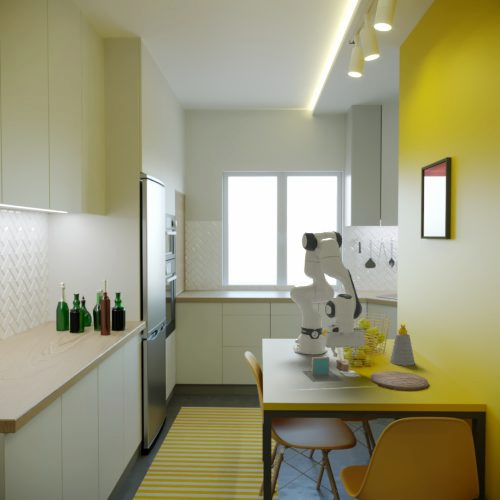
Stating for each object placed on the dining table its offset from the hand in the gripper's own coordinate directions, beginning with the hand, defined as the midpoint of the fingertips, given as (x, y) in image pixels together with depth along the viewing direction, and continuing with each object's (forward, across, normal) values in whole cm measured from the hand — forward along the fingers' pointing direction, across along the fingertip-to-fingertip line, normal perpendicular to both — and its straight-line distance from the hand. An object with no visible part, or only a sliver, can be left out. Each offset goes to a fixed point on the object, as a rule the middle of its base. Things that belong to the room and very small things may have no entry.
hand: (344, 356), depth 233 cm
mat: (+8, +14, +7) cm, 17 cm away
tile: (+7, +14, +5) cm, 16 cm away
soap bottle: (+8, -37, -12) cm, 40 cm away
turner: (+8, 0, +2) cm, 8 cm away
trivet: (+8, -18, +20) cm, 28 cm away
